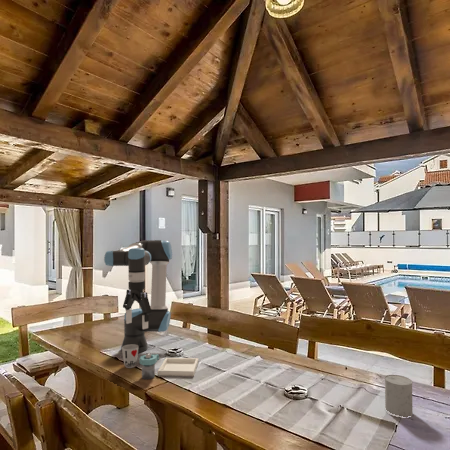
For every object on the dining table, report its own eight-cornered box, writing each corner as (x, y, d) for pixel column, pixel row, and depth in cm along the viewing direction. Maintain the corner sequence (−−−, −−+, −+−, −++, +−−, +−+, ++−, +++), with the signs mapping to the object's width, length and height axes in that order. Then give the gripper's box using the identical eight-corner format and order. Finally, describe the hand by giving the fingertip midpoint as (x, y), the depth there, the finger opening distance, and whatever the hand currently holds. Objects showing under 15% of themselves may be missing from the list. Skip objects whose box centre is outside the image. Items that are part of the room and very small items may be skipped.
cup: (122, 369, 178) (122, 350, 178) (122, 364, 186) (122, 345, 186) (138, 368, 180) (138, 348, 180) (138, 362, 188) (138, 343, 188)
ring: (145, 366, 164) (145, 361, 164) (137, 362, 169) (137, 357, 170) (162, 361, 170) (162, 356, 170) (154, 357, 176) (154, 352, 176)
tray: (165, 362, 187) (165, 357, 188) (198, 363, 187) (198, 358, 187) (157, 376, 170) (157, 370, 170) (193, 376, 169) (193, 371, 169)
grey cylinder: (404, 405, 140) (403, 374, 141) (418, 418, 131) (417, 384, 131) (380, 406, 140) (380, 374, 140) (392, 418, 130) (392, 385, 131)
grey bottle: (143, 374, 172) (143, 351, 172) (156, 374, 172) (156, 351, 172) (140, 379, 166) (140, 355, 166) (152, 379, 166) (152, 356, 166)
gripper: (115, 279, 173) (115, 322, 173) (145, 284, 156) (145, 332, 156) (128, 277, 178) (129, 319, 178) (159, 282, 161) (159, 329, 161)
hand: (136, 325), depth 167 cm, fingers open, 13 cm apart
